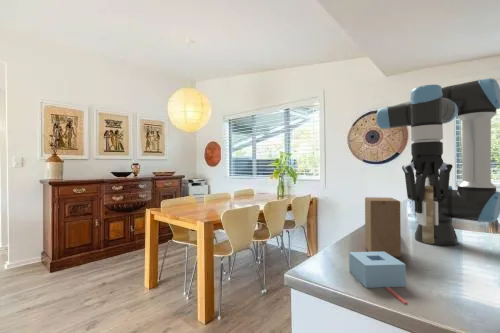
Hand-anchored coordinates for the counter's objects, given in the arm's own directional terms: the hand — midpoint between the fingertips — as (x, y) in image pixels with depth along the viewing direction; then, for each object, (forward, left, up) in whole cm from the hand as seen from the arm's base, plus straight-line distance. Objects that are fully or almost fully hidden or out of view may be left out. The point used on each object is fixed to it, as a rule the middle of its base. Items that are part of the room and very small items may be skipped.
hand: (427, 224), depth 78 cm
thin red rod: (+14, +9, -16) cm, 23 cm away
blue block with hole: (+14, -2, -16) cm, 21 cm away
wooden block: (0, -25, -16) cm, 30 cm away
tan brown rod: (0, 0, -5) cm, 5 cm away
